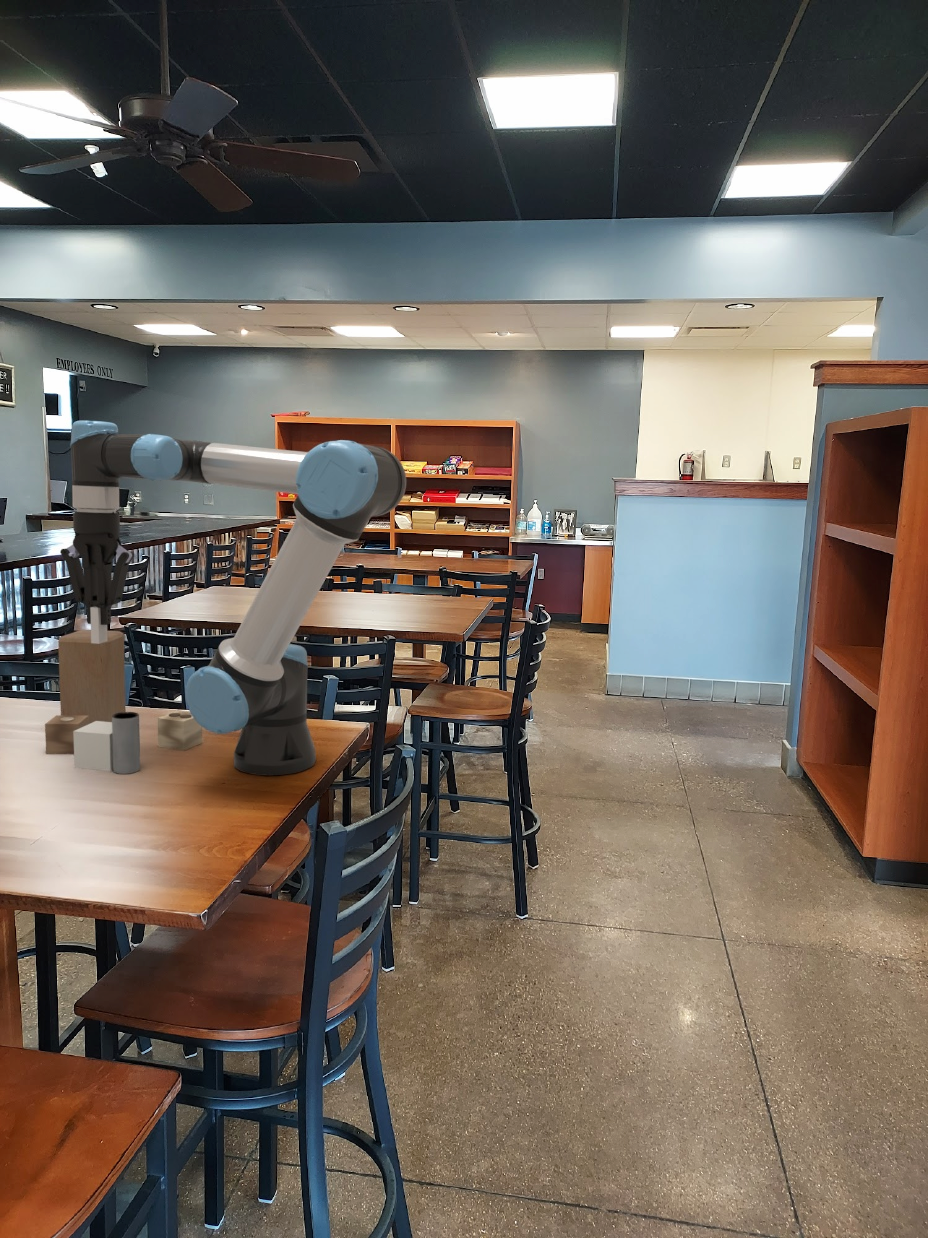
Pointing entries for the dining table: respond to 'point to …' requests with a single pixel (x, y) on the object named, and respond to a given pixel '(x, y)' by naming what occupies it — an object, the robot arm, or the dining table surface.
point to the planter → (126, 742)
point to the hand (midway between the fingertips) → (99, 642)
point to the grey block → (94, 746)
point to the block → (92, 675)
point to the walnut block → (63, 733)
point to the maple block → (178, 731)
